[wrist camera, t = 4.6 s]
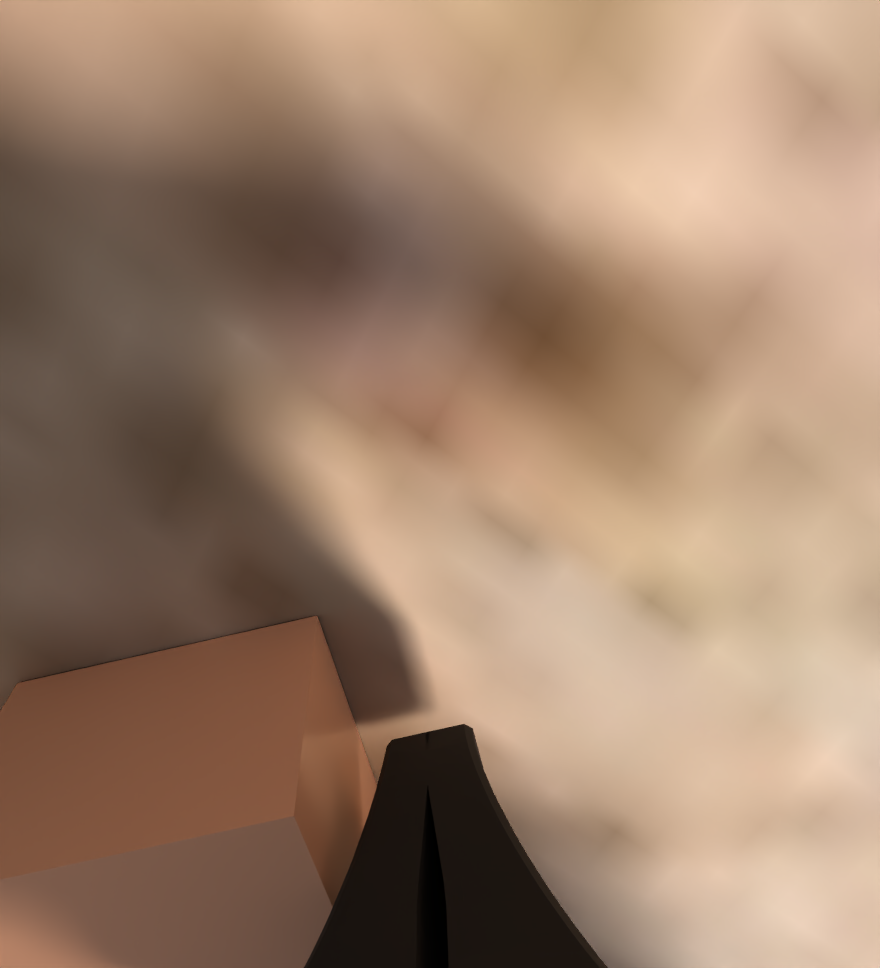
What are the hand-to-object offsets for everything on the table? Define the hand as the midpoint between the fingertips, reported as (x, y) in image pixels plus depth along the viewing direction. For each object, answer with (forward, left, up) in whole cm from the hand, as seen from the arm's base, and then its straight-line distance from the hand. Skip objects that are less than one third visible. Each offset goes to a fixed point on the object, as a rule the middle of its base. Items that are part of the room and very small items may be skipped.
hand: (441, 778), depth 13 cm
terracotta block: (0, +4, -1) cm, 4 cm away
